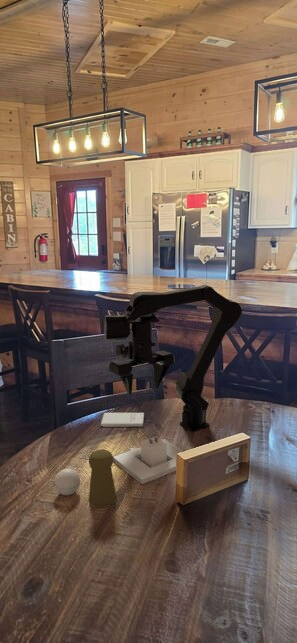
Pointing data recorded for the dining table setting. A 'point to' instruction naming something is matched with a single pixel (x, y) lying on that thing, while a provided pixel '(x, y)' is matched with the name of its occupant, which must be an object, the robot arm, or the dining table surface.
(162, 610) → the dining table surface
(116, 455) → the grey bar
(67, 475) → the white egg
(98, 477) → the olive pawn
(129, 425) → the external hard drive
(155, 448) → the charger brick
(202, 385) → the robot arm
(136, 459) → the outlet plate
